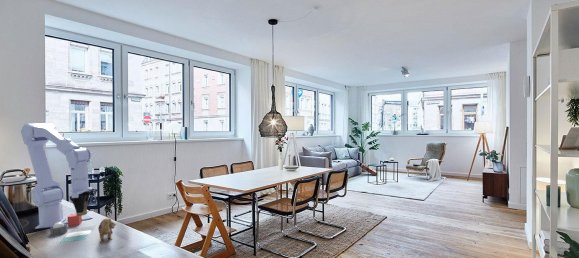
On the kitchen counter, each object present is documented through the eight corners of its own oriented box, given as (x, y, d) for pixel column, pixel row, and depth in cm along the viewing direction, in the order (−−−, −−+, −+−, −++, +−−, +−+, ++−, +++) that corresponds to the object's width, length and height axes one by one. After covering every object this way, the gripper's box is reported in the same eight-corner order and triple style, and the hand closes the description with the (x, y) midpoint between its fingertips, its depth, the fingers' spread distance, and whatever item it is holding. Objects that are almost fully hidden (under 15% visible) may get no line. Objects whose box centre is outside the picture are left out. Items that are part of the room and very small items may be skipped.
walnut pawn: (78, 213, 125) (77, 201, 125) (88, 212, 126) (87, 200, 126) (75, 216, 121) (74, 204, 121) (85, 215, 123) (84, 203, 122)
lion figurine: (117, 242, 110) (116, 218, 110) (100, 246, 107) (98, 221, 106) (112, 230, 122) (110, 208, 121) (96, 234, 119) (95, 211, 118)
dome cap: (55, 230, 121) (54, 221, 121) (65, 229, 123) (65, 220, 123) (51, 233, 118) (51, 224, 118) (62, 232, 119) (62, 223, 119)
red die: (71, 223, 132) (70, 213, 131) (82, 221, 133) (81, 212, 133) (68, 226, 128) (67, 216, 128) (79, 224, 129) (78, 214, 129)
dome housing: (53, 231, 122) (53, 224, 122) (68, 229, 124) (68, 223, 123) (48, 236, 117) (48, 229, 117) (64, 234, 119) (63, 227, 119)
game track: (73, 228, 125) (73, 228, 125) (95, 225, 128) (95, 225, 128) (59, 242, 111) (59, 242, 111) (85, 239, 114) (85, 239, 114)
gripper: (86, 180, 117) (87, 215, 118) (95, 174, 131) (97, 204, 132) (64, 182, 115) (66, 217, 116) (76, 175, 129) (78, 206, 129)
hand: (81, 211), depth 124 cm, fingers closed on walnut pawn, 4 cm apart
